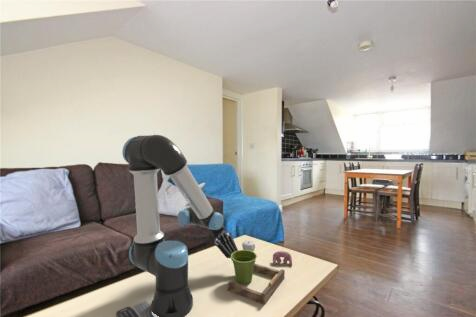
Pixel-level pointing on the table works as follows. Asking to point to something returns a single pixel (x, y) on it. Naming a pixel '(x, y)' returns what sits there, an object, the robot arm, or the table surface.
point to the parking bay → (267, 291)
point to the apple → (248, 245)
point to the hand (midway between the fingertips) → (241, 267)
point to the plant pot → (243, 265)
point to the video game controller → (282, 254)
